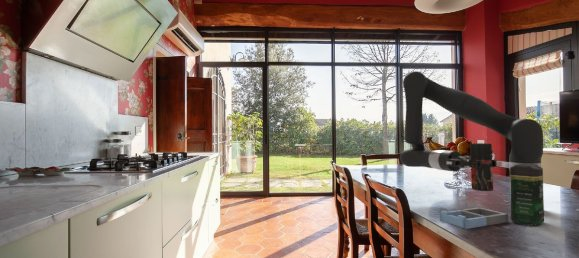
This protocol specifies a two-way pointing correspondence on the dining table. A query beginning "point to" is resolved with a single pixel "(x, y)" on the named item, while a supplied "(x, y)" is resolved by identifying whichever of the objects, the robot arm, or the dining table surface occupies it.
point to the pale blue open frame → (473, 217)
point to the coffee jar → (527, 194)
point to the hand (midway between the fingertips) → (488, 164)
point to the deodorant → (484, 175)
